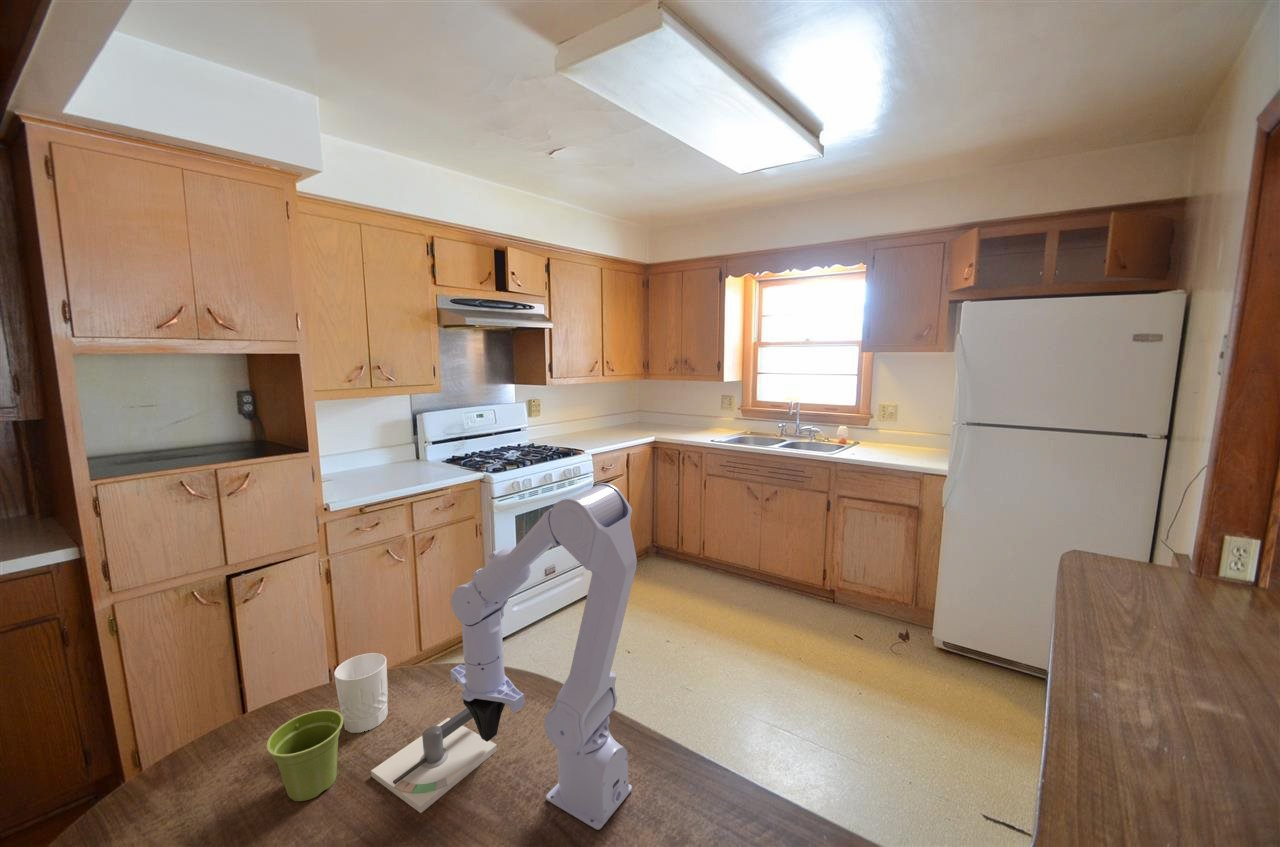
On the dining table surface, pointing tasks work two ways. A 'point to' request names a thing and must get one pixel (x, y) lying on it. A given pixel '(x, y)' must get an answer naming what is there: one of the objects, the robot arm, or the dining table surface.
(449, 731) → the grey dial pointer
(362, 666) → the white cup
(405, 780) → the board
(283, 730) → the plant pot
